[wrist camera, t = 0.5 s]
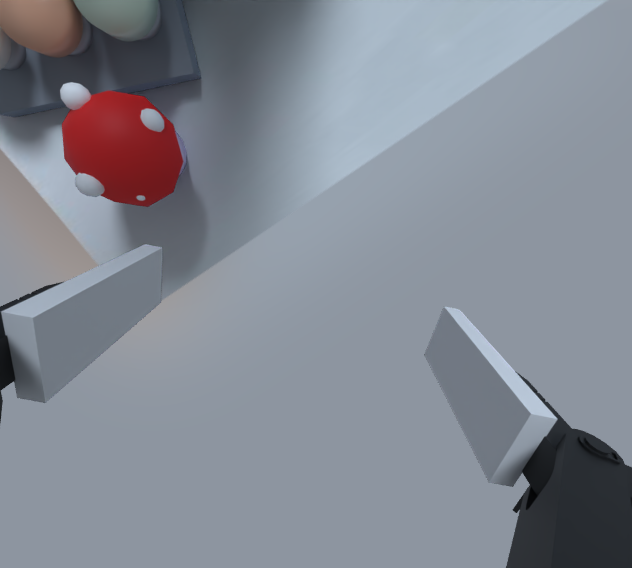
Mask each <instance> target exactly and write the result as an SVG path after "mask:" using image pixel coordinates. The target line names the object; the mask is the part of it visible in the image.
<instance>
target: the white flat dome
mask: <svg viewBox="0 0 632 568" xmlns="http://www.w3.org/2000/svg"><path fill="white" fill-rule="evenodd" d="M10 55H11V38H10V37H9V36H8V35H7V34H6V33H5V32H4V31H3V29H2V28H1V27H0V70H1V69H2V68H3V67H4V66H5V65H6V64H7V62H8V60H9V58H10Z"/></svg>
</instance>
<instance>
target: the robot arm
mask: <svg viewBox="0 0 632 568" xmlns="http://www.w3.org/2000/svg"><path fill="white" fill-rule="evenodd" d="M162 255H163V248H162V247H157V246H153V245H148V244H144V245H142V246H140V247H138V248H136V249H134V250H132V251H129V252H127V253H125V254H123V255H121V256H119V257H117V258H115V259H112V260H110V261H108V262H106V263H104V264H102V265H100V266H97V267H95V268H93V269H91V270H89V271H87V272H85V273H83V274H81V275H78V276H76V277H74V278H72V279H70V280H68V281H65V282H61V283H56V284H53V285H48V286H45V287H43V288H40V289H38V290H36V291H34V292H32V293H31V294H27V295H25V296H23V297H20V298H19V300H17V299H16V300H14V301H12V302H9V303H7V304H5V305H3V306H1V307H0V421H1V411H2V402H3V400H2V395H1V390H2V389H3V388H5V387H6V386H7V385H9V384H10V383H12V382H13V381H14V383H15V388H16V393H17V398H21V399H27V400H33V401H38V402H43V403H46V402H47V401H48V400H49V399H50V398H52V396H54V395H55V394H56V393H57V392H58V391H60V390H61V389H62V388H63V387H64V386H65V385H66V384H68V383H69V382H70V381H71V380H72V379H73V378H74V377H76V376H77V375H78V374H79V373H80V372H81V371H83V370H84V369H85V368H86V367H87V366H88V365H89V364H90V363H92V362H93V361H94V360H95V359H96V358H98V357H99V356H100V355H101V354H102V353H103V352H104V351H106V350H107V349H108V348H109V347H110V346H111V345H112V344H114V343H115V342H116V341H117V340H118V339H119V338H121V337H122V336H123V335H124V334H125V333H126V332H127V331H129V330H130V329H131V328H132V327H133V326H134V325H136V324H137V323H138V322H139V321H140V320H141V319H142V318H144V317H145V316H146V315H147V314H148V313H149V312H151V310H153V309H154V308H155V307H156V306H157V305H159V304H160V303H161V291H162ZM424 355H425V357H426V359H427V361H428V363H429V365H430V367H431V369H432V371H433V373H434V375H435V377H436V379H437V381H438V383H439V385H440V387H441V389H442V391H443V393H444V395H445V397H446V399H447V401H448V403H449V405H450V407H451V409H452V411H453V413H454V415H455V416H456V419H457V421H458V422H459V425H460V426H461V428H462V430H463V432H464V434H465V436H466V438H467V440H468V442H469V444H470V446H471V448H472V450H473V452H474V454H475V456H476V458H477V460H478V462H479V464H480V466H481V468H482V470H483V472H484V474H485V476H486V478H487V480H488V482H489V483H494V484H500V485H506V486H512V487H513V486H514V484H515V483H516V481H517V479H518V478H519V476H520V475H521V474H522V473H523V474H524V476H525V477H526V479H527V481H528V482H529V484H530V486H529V487H528V488H527V490H526V491H525V493H524V494H523V496H522V497H521V499H520V500H519V501H518V503H517V504H516V506H515V507H514V509H513V511H515V512H516V513H517V512H518V511H519V510H520V512H519V516H518V520H517V525H516V529H515V533H514V537H513V541H512V546H511V549H510V554H509V558H508V562H507V566H506V568H632V467H629V466H627V465H625V464H624V461H623V459H622V458H621V457H620V456H619V455H618V454H617V452H616V451H615V450H613V449H612V448H611V447H609V446H608V445H607V444H606V443H604V442H603V441H601V440H600V439H598V438H596V437H595V436H593V435H591V434H589V433H586V432H584V431H581V430H577V429H572V428H571V427H570V426H569V425H568V424H567V423H566V422H565V421H564V420H563V418H562V417H561V416H560V415H559V414H558V413H557V412H556V411H555V410H554V409H553V408H552V407H551V406H550V404H549V403H548V402H545V399H544V398H543V397H542V396H541V395H540V394H539V393H537V390H536V389H535V388H534V387H533V386H532V385H531V384H530V383H529V381H527V380H526V379H525V378H524V377H522V376H521V375H520V374H518V373H517V372H516V371H514V370H513V369H512V368H511V367H510V366H509V364H508V363H507V362H506V361H505V360H504V359H503V358H502V357H501V355H500V354H499V353H498V352H497V351H496V350H495V349H494V348H493V346H492V345H491V344H490V343H489V342H488V341H487V340H486V339H485V337H483V335H482V334H481V333H480V332H479V331H478V330H477V329H476V327H475V326H474V325H473V324H472V323H471V322H470V321H469V320H468V318H466V316H465V315H464V314H463V313H462V312H461V311H460V310H459V309H454V308H449V307H445V306H444V308H443V310H442V312H441V315H440V318H439V320H438V322H437V325H436V327H435V330H434V332H433V335H432V337H431V339H430V342H429V345H428V347H427V349H426V352H425V354H424Z"/></svg>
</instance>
